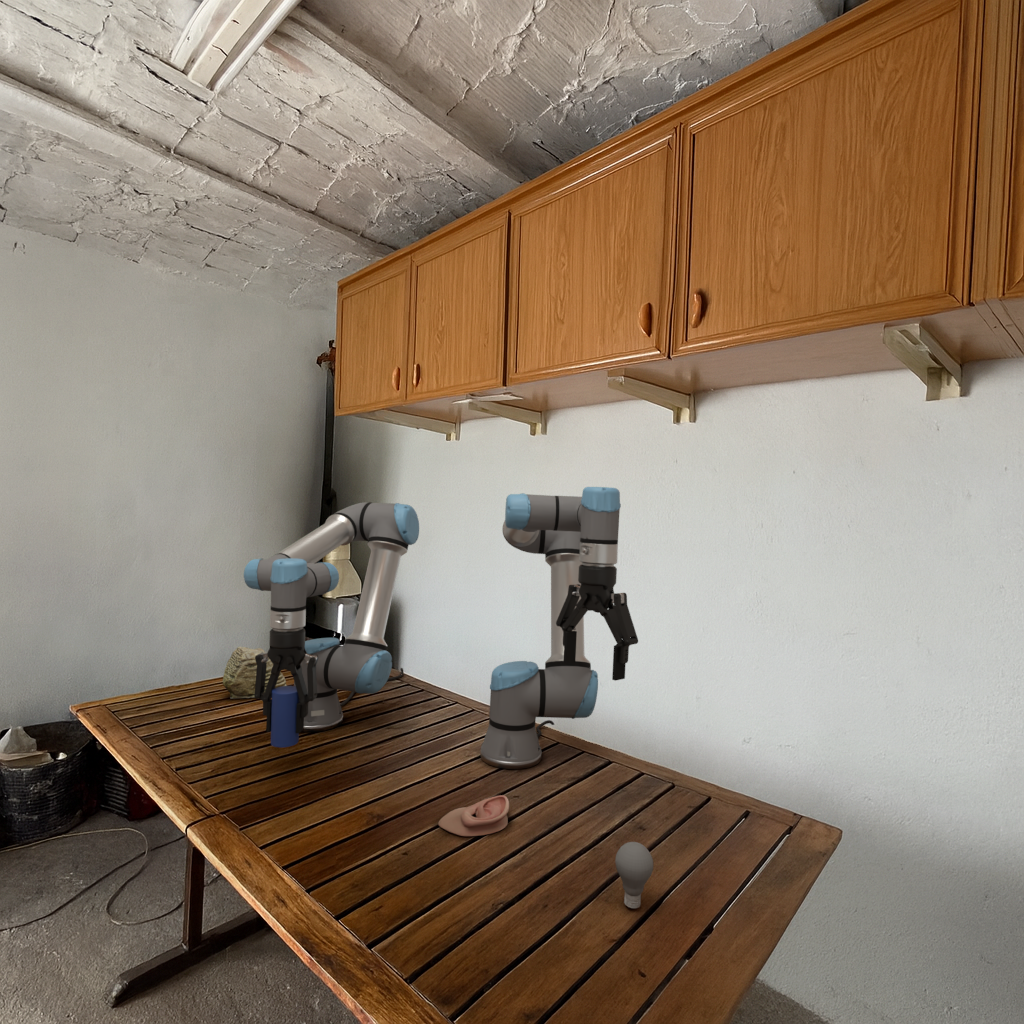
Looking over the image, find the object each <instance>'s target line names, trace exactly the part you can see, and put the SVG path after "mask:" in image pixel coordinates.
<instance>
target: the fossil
mask: <svg viewBox="0 0 1024 1024" xmlns="http://www.w3.org/2000/svg"><path fill="white" fill-rule="evenodd" d="M262 652H263V653H266V651H265V650H264V649H263V648H260V647H258V648H251V647H247V646H246V647H245V646H238V647H237V648H236V649H235V650H233V651H232V653H231V656H230V657H229V659H228V660H227V663H226V666H225V668H224V671H223V675H222V676H223V677H222V685H223V687H224V688H225V690H226V691H228V693H229V698H230V699H250V698H255V697H254V695H255V683H256V672H257V664H256V660H255V656H256V655H258V654H260V653H262ZM272 667H273V663H272V662H271V660H270V659H269V657H268V661H267V667H266V679H265V690H266V687H267V684H268V681H269V678H270V675H271V670H272ZM281 686H288V685H287V680H286V678H285V676H284V674H283V673H282V672H280V675H279V677H278V680H277V683H276V686H275V688H277V687H281ZM265 690H264V692H265Z"/></svg>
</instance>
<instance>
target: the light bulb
mask: <svg viewBox="0 0 1024 1024" xmlns="http://www.w3.org/2000/svg"><path fill="white" fill-rule="evenodd" d="M614 864H615V868H616V871H617V873H618V876H619V877H620V880H621V881H622V888H623V890H624V898H623V899H624V900H623V903H624V905H625V906H627V907H628V908H630V909H638V908H640V907H641V900H642V893H643V892H644V888H645V885H646V884H647V882H648V881H649V879H650V878H651V876H652V874H653V871H654V859H653V856H652V854H651V852H650V851H649V849H648V848H647V847H646V846H645V845H644V844H642V843H640V842H637V841H628V842H625V843H623V845H621V846H620V847H619V848H618V850H617V852H616V854H615V863H614Z"/></svg>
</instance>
